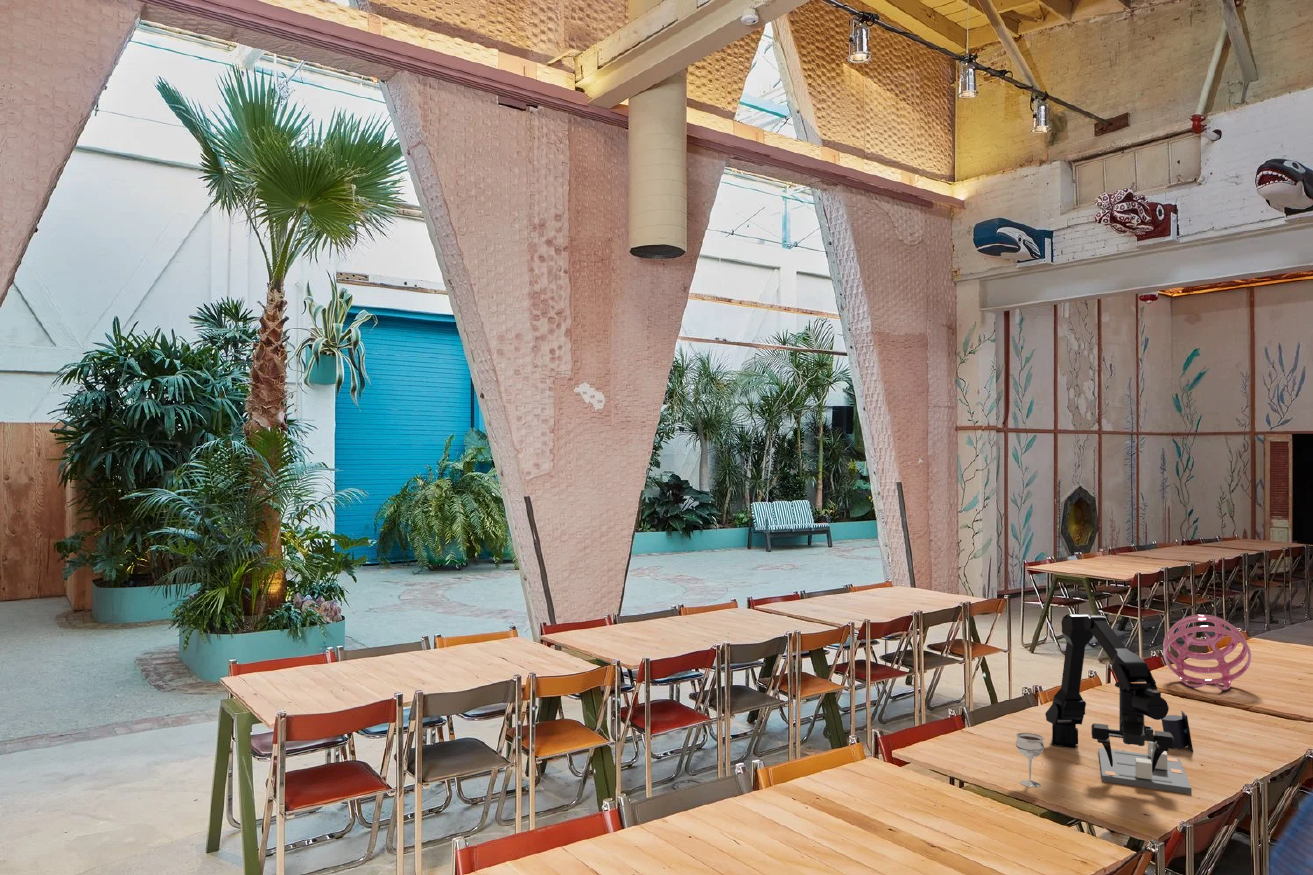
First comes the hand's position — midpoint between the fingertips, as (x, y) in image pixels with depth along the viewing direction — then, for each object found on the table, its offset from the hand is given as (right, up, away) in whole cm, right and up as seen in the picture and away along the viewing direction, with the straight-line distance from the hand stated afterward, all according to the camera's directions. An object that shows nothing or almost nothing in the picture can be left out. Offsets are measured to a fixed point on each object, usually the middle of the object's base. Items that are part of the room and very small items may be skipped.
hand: (1131, 769), depth 230 cm
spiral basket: (+83, -8, +103) cm, 132 cm away
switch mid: (+11, -2, +6) cm, 12 cm away
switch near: (+2, -1, -1) cm, 3 cm away
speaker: (+29, -5, +29) cm, 41 cm away
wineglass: (-27, -3, -2) cm, 28 cm away
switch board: (+7, -4, +8) cm, 11 cm away
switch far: (+15, -2, +15) cm, 21 cm away
